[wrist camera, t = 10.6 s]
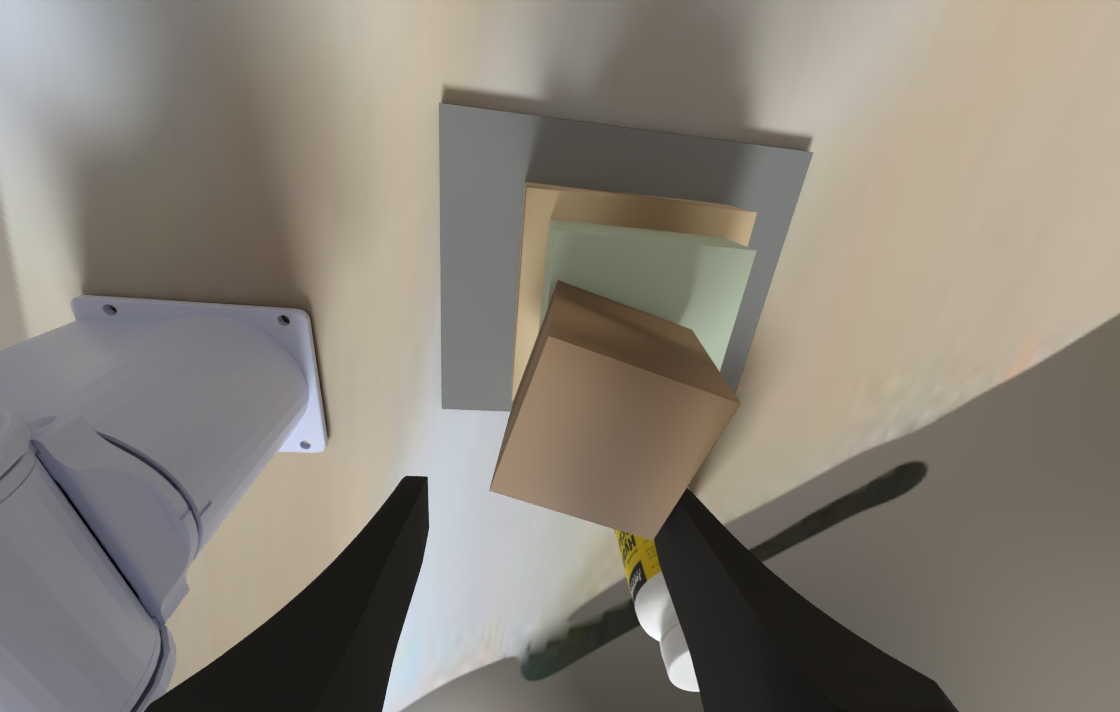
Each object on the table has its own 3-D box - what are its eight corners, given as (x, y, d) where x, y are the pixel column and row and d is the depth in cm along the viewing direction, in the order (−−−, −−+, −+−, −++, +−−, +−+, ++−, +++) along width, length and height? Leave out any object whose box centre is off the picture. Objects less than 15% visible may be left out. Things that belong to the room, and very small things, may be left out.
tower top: (533, 382, 19) (536, 413, 17) (549, 219, 16) (555, 230, 14) (682, 390, 20) (704, 420, 18) (724, 237, 17) (756, 250, 15)
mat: (443, 403, 23) (441, 408, 23) (441, 104, 17) (439, 102, 17) (722, 414, 25) (726, 419, 25) (806, 152, 19) (813, 152, 19)
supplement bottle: (602, 482, 27) (647, 646, 18) (687, 462, 27) (774, 616, 18) (615, 541, 29) (660, 712, 20) (693, 523, 29) (772, 685, 20)
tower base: (511, 370, 22) (511, 400, 19) (524, 181, 18) (526, 187, 16) (678, 378, 23) (700, 408, 21) (723, 203, 19) (757, 212, 17)
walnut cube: (514, 399, 17) (489, 490, 12) (558, 280, 15) (548, 335, 10) (633, 439, 17) (652, 540, 13) (692, 329, 15) (740, 403, 11)
